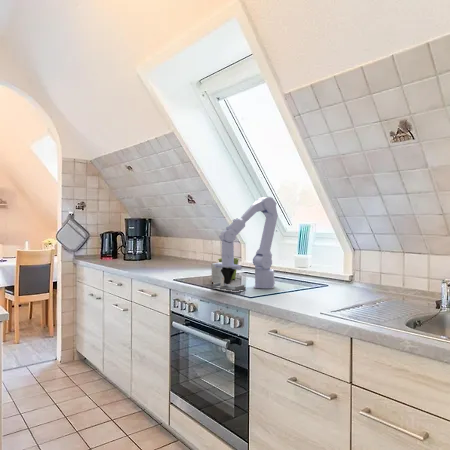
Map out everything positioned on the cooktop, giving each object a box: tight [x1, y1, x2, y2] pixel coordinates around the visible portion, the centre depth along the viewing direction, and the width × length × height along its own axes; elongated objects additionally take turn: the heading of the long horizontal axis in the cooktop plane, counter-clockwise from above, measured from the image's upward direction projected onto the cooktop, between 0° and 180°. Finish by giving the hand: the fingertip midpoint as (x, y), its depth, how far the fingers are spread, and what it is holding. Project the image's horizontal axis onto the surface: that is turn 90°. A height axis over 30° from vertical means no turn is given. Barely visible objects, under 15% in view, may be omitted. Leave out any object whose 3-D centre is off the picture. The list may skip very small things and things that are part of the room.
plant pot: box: [217, 257, 240, 281], centre depth 230 cm, size 12×12×11 cm
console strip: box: [211, 282, 247, 291], centre depth 197 cm, size 14×8×3 cm, turn 52°
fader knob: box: [221, 278, 229, 287], centre depth 199 cm, size 2×3×4 cm, turn 142°
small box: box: [211, 261, 224, 283], centre depth 216 cm, size 8×6×10 cm
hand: (227, 283), depth 197 cm, fingers closed
